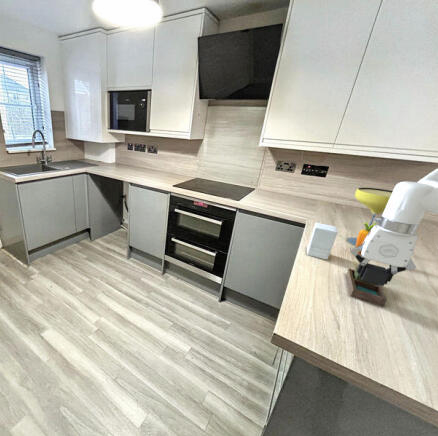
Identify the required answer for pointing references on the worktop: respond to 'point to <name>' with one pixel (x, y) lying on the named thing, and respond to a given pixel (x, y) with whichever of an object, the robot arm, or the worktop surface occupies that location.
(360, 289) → the brown divided tray
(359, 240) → the carrot
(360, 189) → the cocktail glass
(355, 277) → the olive green block
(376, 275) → the dark grey block
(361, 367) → the worktop surface
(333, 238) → the white packaging box
